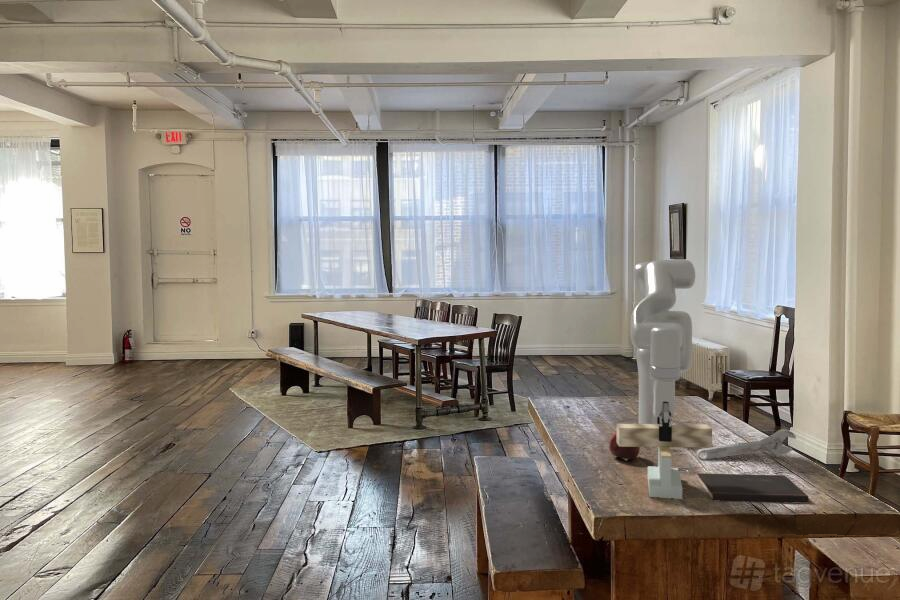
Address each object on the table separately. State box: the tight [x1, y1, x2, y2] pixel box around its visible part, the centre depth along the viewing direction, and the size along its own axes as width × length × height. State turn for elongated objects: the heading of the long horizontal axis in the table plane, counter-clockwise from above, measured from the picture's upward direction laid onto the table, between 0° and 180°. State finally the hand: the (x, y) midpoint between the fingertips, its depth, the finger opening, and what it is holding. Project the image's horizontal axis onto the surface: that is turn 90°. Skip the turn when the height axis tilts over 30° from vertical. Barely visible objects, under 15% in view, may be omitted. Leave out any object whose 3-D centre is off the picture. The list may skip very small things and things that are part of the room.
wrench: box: [696, 428, 797, 460], centre depth 210 cm, size 8×2×30 cm
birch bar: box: [616, 423, 713, 448], centre depth 187 cm, size 24×4×5 cm, turn 86°
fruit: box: [608, 432, 641, 462], centre depth 211 cm, size 9×10×10 cm
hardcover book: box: [697, 472, 810, 503], centre depth 182 cm, size 16×23×2 cm
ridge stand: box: [647, 447, 683, 500], centre depth 185 cm, size 16×8×11 cm, turn 166°
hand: (664, 436), depth 186 cm, fingers open, 9 cm apart
